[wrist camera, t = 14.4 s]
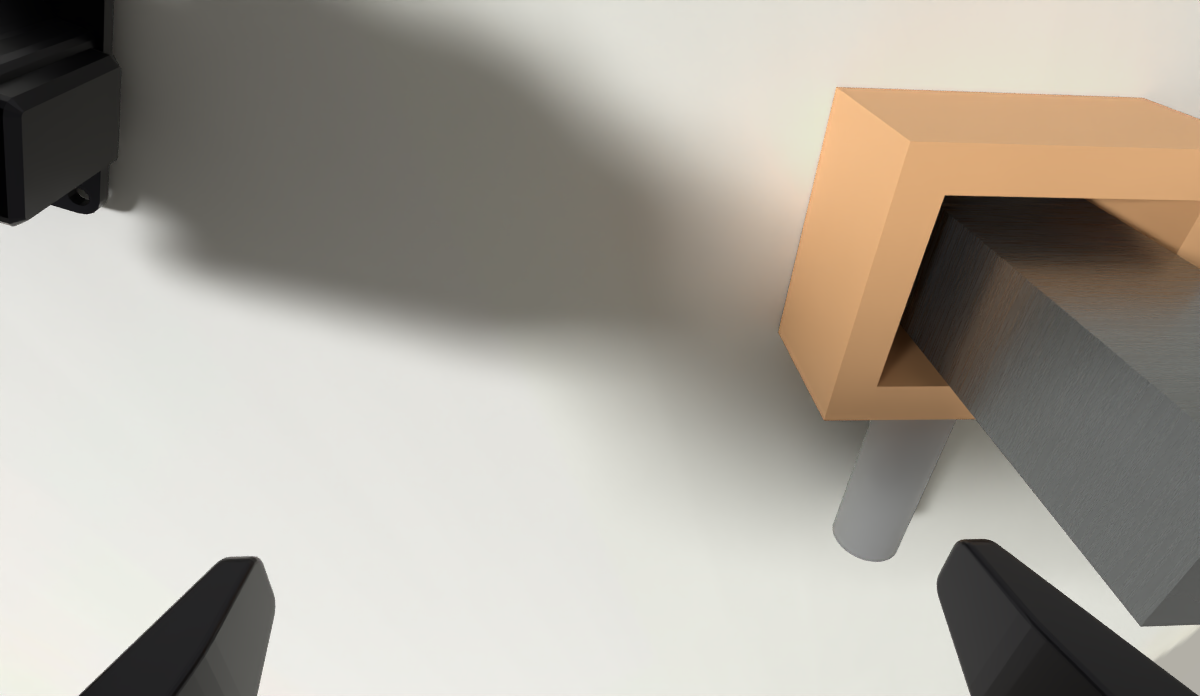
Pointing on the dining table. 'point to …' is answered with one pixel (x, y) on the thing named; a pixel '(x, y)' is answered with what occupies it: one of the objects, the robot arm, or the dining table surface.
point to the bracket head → (900, 236)
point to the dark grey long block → (1078, 378)
